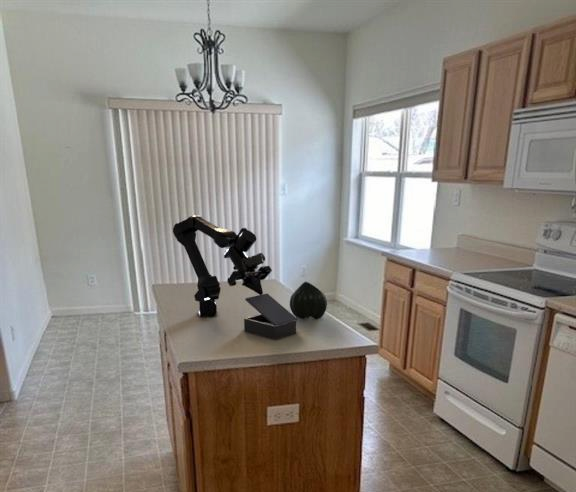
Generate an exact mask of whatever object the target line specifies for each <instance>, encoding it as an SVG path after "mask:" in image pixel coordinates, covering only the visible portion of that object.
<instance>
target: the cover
mask: <svg viewBox="0 0 576 492" xmlns="http://www.w3.org/2000/svg"><path fill="white" fill-rule="evenodd" d="M244 301H246V303H248V304H249V305H250V306H251V307H252V308H253V309H255V311H257V312H258V313H259V314H262V315H263V316H264V317H265V318H266V319H267V320H269V321H270V322H271V323H272V324H273V325H274V326H277V325H281V324H284V323H288V322H291V321H294V320H296V321H297V318H298V317H296V316H295V315H294V314H293V313H292V312H290V311H289V310H288V309H287V308H285V306H283V305H282V304H281V303H280V302H278V301H277V300H276V299H274V297H273V296H271V295H270V294H269V293H263V294H262V295H259V294H257V295H253V296H250V297H245V298H244Z"/></svg>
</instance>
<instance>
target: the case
mask: <svg viewBox="0 0 576 492" xmlns="http://www.w3.org/2000/svg"><path fill="white" fill-rule="evenodd" d="M265 322H268V323H271V322H270V321H269V320H267V319H266V318H265V317H264V316H263V315H262V314H261V313H259V314H256V315H252V316H247V317H244V318H243V330H244V332H247V333H250V334H254V335H257V336H261V337H264V338H268V339H272V340H278V339H281V338H284V337H287V336H288V337H289V336H291V335H294V334H297V319H296V320H294V321H291V322H288V323H284V324H281V325H277V326H274V325H270V324H266V323H265ZM271 324H272V323H271Z"/></svg>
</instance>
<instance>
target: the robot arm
mask: <svg viewBox="0 0 576 492" xmlns="http://www.w3.org/2000/svg"><path fill="white" fill-rule="evenodd" d="M197 231H199V232H201V233H203V234H204V235H205V236H208V237H210V238H211V239H212V240H213V243H214V244H215V245H216V246H217V247H218V248H220V249H226V248H227V249H226V250H225V251H224V254H223V258H224V259H229V260H230V261H231V263H232V264H233V267H232V269H233V270H232V272H231V273H230V275H229V276H228V278H227V284H228V286H229V287H234V286H236V285H237V281H242V283H241V286H243V287H246V288H248V289H249V290H251V291H253V292H255V293H256V294H257V295H262V294H264V291H263V286H262V282H261V281H264V280H266V278H267V277H268V276H269V275H270V274H271V272H273V269H272V268H271V266H270V265H263V264H264V263H265V261H266V257H265V254H264V253H263V252H258V253H256V254H255V255H252V256H247V255H246V253H247V252H249V251H250V249H251V248H252V246H253V245H254V244H255V242H257V236H256V234H255V233H253V232H252V231H251V230H249V229H247V228H246V227H241V229H240V230H239V232H238V233H236V231H233V230H230V229H225V228H221V227H219V226H216V225H215V224H213V223H211V222H210V221H208V220H206V219H205V218H203V217H202V216H201V215H190V216H189V217H187V218H186V219H184V220H182V221H180V222H178V223H175V224H174V225H173V227H172V233H173V237H175V239H176V241H177V242H178V243H179V244H180V245H182V246H183V247H184V249H185V253H186V255H187V257H188V259H189V261H190V264H191V266H192V268H193V270H194V272H195V275H196V277H197V284H196V287H197V291H196V293H195V294H194V295H193V296H194V300H195V302H198V306H199V307H198V310H199V311H198V315H199V317H200V318H201V317H202V318H203V317H217V313H218V307H217V306H218V305H217V302H216V300H219V299H220V293H221V289H222V288H221V283H220V282H219V280H218V277H217V275H211V274H210V272H209V269H208V267H207V265H206V262H205V260H204V258H203V256H202V253H201V251H200V249H199V247H198V244H197V242H196V240H197ZM261 264H262V266H260V267H259V265H261Z"/></svg>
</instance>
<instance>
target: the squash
mask: <svg viewBox="0 0 576 492" xmlns="http://www.w3.org/2000/svg"><path fill="white" fill-rule="evenodd" d="M327 308H328V300H327V297H326V294H325V293H324V292H323V291H322V290H321V289H319V287H317V286H315V285H314V284H312V283H310V282H309V281H304V282H303V283H301V284H300V285H299V286H298V288H297V289H295V290H294V292H293V293H292V294H291V296H290V300H289V309H290V311H291V314H292V315H293V316H295V317H296V318H298V319H299V320H305V319H309V318H312V319H314V320H319V319H321V318H323V317H324V315H325V313H326V311H327Z"/></svg>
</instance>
